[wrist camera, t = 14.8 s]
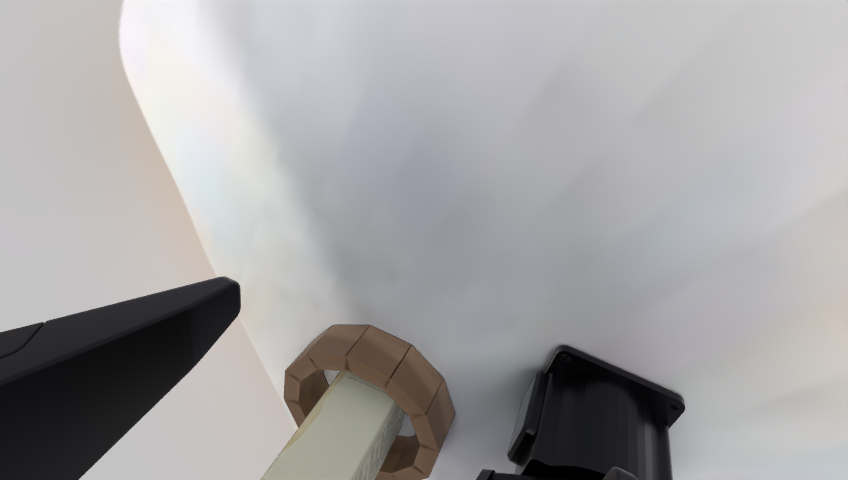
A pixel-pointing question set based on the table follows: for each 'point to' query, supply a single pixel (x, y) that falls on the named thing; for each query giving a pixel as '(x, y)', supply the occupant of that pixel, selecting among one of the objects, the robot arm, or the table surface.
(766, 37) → the table surface
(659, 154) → the table surface
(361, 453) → the skincare box
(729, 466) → the table surface
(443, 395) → the walnut ring
